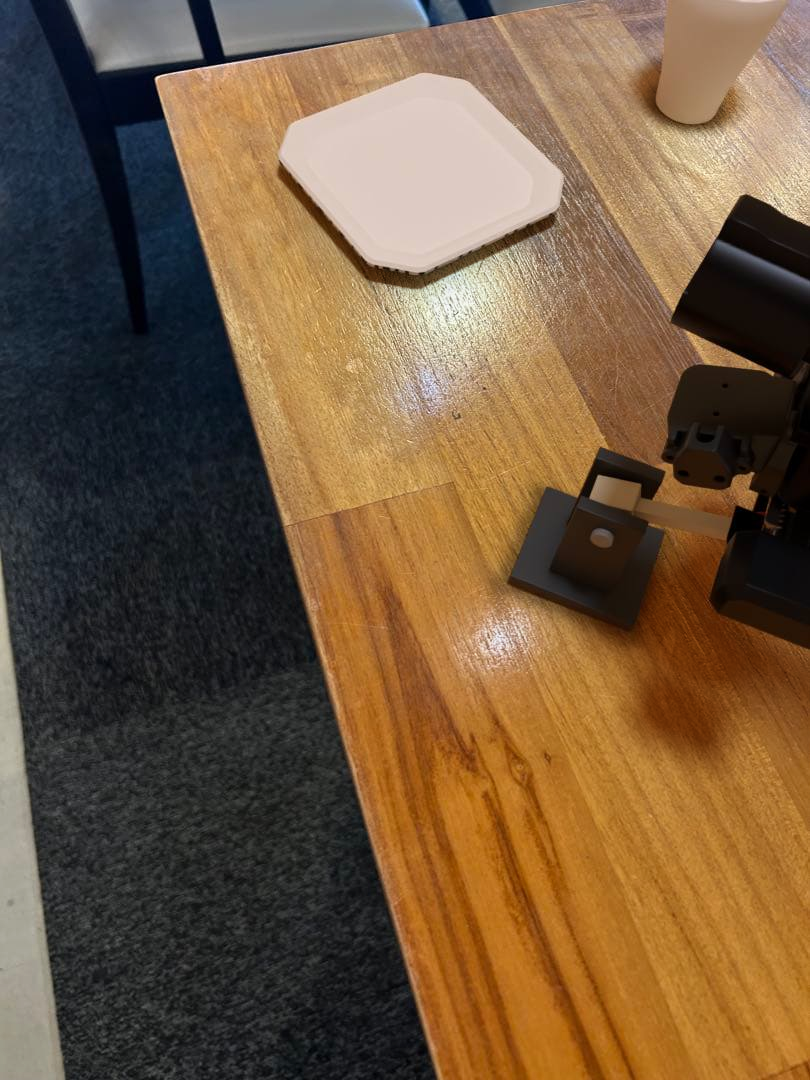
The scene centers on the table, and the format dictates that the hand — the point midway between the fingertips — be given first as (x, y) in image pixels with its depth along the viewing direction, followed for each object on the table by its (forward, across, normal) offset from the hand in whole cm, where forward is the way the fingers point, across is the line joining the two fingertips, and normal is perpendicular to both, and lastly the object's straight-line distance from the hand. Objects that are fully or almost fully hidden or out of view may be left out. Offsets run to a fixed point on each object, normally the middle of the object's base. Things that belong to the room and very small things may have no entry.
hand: (748, 551), depth 59 cm
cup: (+9, -52, -15) cm, 55 cm away
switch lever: (+1, 0, -4) cm, 4 cm away
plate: (+9, -30, -34) cm, 46 cm away
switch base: (+8, 0, -9) cm, 12 cm away
